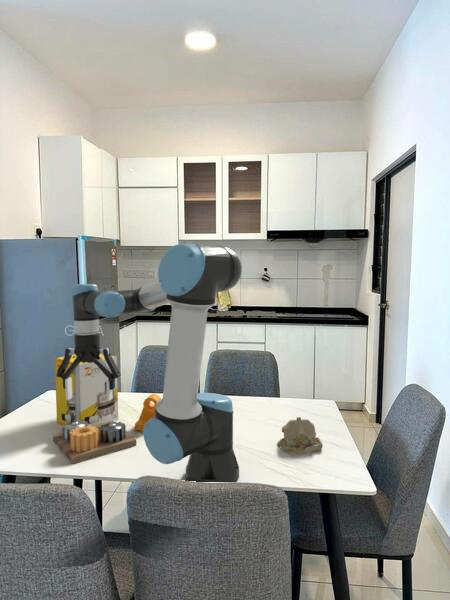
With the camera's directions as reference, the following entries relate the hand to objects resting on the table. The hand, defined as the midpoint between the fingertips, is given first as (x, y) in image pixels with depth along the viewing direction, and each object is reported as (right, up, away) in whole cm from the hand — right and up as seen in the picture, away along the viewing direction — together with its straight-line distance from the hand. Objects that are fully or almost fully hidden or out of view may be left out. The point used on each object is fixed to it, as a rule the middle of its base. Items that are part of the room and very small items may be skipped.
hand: (89, 399), depth 128 cm
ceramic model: (+68, -17, +4) cm, 70 cm away
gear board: (-1, -17, +7) cm, 18 cm away
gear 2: (+6, -15, +6) cm, 17 cm away
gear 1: (-8, -15, +8) cm, 18 cm away
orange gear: (-2, -15, +1) cm, 15 cm away
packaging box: (-10, -15, +27) cm, 33 cm away
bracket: (+16, -16, +19) cm, 30 cm away
